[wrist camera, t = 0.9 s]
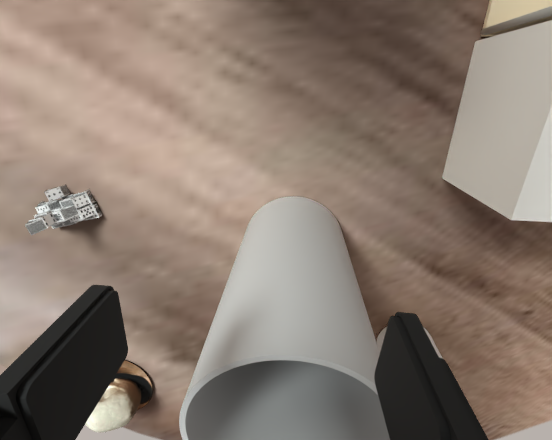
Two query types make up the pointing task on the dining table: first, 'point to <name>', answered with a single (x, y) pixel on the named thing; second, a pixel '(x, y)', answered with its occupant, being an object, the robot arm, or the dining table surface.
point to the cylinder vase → (288, 339)
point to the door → (519, 22)
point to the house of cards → (63, 209)
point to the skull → (121, 399)
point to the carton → (507, 118)
